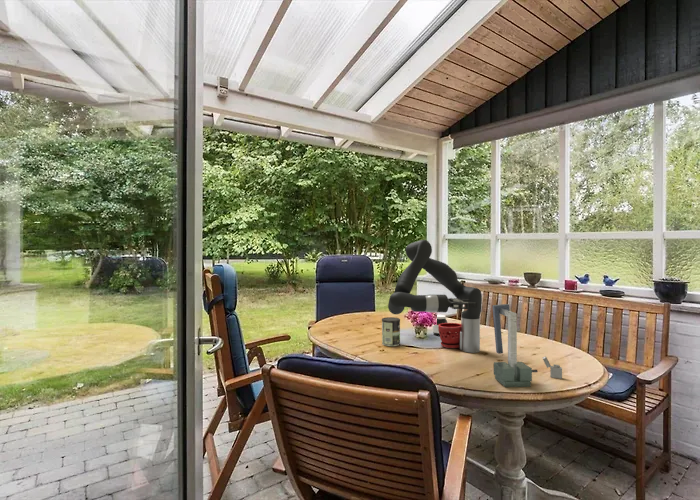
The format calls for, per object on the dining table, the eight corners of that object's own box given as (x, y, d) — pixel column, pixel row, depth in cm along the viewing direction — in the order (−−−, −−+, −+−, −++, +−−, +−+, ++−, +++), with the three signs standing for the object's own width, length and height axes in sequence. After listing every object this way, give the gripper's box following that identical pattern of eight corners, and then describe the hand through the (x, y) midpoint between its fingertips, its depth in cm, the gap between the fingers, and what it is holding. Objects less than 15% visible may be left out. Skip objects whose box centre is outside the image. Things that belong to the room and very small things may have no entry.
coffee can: (399, 341, 205) (399, 317, 205) (401, 346, 194) (401, 320, 194) (381, 341, 205) (381, 317, 205) (382, 346, 195) (382, 320, 194)
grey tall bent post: (503, 387, 138) (503, 315, 137) (483, 370, 156) (483, 307, 156) (543, 386, 138) (543, 314, 138) (519, 370, 156) (519, 306, 156)
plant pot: (460, 343, 200) (460, 322, 200) (465, 349, 187) (465, 327, 187) (437, 343, 201) (436, 321, 201) (440, 349, 188) (440, 327, 188)
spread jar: (437, 331, 227) (437, 313, 227) (454, 334, 220) (454, 315, 220) (429, 335, 218) (429, 316, 218) (446, 338, 211) (446, 319, 211)
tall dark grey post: (498, 353, 151) (494, 306, 151) (496, 352, 153) (492, 305, 153) (513, 352, 151) (509, 304, 151) (510, 350, 153) (506, 303, 153)
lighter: (562, 377, 147) (562, 358, 147) (561, 379, 146) (561, 359, 146) (542, 374, 151) (542, 355, 151) (542, 375, 150) (542, 356, 150)
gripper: (440, 296, 144) (479, 297, 145) (431, 292, 158) (467, 292, 159) (439, 315, 144) (479, 315, 145) (431, 309, 158) (467, 309, 159)
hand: (472, 303), depth 152 cm, fingers open, 8 cm apart
